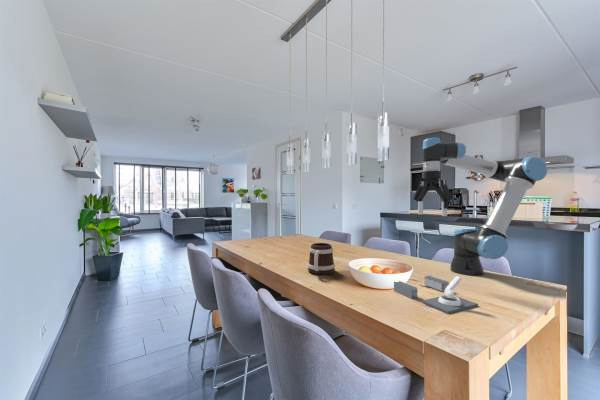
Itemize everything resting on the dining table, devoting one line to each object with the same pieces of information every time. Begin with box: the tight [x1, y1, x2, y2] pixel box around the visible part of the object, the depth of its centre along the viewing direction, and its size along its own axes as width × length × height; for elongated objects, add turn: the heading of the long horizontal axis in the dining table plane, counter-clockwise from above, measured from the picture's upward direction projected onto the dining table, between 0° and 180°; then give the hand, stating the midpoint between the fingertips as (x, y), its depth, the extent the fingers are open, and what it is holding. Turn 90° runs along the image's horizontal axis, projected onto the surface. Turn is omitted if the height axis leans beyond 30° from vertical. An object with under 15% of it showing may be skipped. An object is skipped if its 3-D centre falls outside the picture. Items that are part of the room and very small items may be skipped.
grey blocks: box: [393, 275, 450, 300], centre depth 116 cm, size 21×10×4 cm, turn 113°
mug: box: [307, 242, 336, 276], centre depth 146 cm, size 20×15×15 cm
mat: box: [421, 294, 479, 315], centre depth 101 cm, size 16×11×1 cm
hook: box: [438, 275, 462, 306], centre depth 101 cm, size 8×12×7 cm
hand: (431, 215), depth 129 cm, fingers open, 13 cm apart
